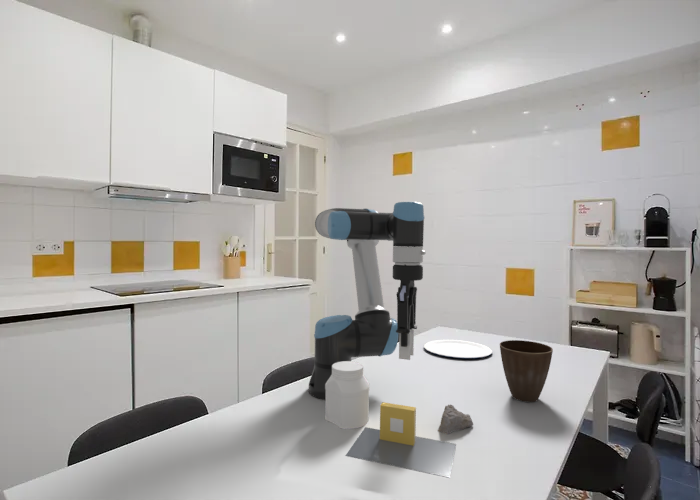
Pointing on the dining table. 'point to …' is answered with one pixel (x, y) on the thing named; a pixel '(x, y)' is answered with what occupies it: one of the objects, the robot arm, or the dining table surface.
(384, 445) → the slate board
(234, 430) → the dining table surface
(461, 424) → the stone
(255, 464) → the dining table surface
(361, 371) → the jar
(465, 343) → the plate
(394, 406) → the yellow block
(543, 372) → the plant pot
